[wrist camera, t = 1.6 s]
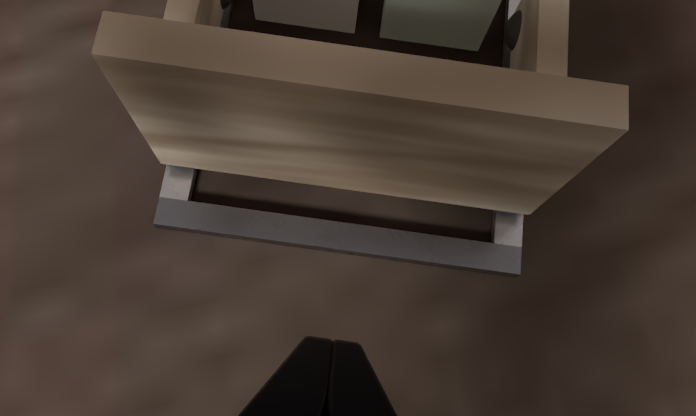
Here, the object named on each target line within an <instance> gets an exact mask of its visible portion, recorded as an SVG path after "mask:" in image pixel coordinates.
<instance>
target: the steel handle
mask: <svg viewBox="0 0 696 416" xmlns="http://www.w3.org/2000/svg"><path fill="white" fill-rule="evenodd" d="M233 1H234V0H233ZM233 1H232V3H231V4H230V5H229V6H228V7H227V8H225V9H224V11H223V16H222V20H221V25H220V27H222V28H228V24H229V20H230V15H231V10H232V6H233ZM520 1H521V0H506V8H505V23H504V29H505V26H506V23H507V21H508V20H509V18H510V17H511V16H512V15H513V14H514V12H515V10H516V9H517V7H518V5H519V3H520ZM510 55H511V50H510V49H509V48H508V46H507V45H506V42H505V39H503V55H502V68H509V69H510ZM197 170H198V169H196V168H189V167H182V166H175V165H168V164H167V166H166V170H165V175H164V179H163V183H162V188H161V192H160V196H159V201H158V205H157V210H156V214H155V218H154V223H153V224H154V225H155V226H156V227H157V228H164V229H171V230H178V231H185V232H193V233H200V234H207V235H214V236H222V237H229V238H236V239H243V240H251V241H258V242H265V243H272V244H280V245H287V246H294V247H301V248H309V249H316V250H323V251H330V252H338V253H345V254H352V255H359V256H367V257H374V258H381V259H388V260H396V261H403V262H410V263H417V264H425V265H432V266H439V267H446V268H454V269H461V270H468V271H475V272H483V273H490V274H497V275H504V276H512V277H517V276H519V275H520V274H521V254H522V233H523V214H519V213H512V212H505V211H498V210H493V213H492V229H491V243H489V242H482V241H474V240H467V239H460V238H453V237H446V236H438V235H431V234H424V233H417V232H410V231H402V230H395V229H388V228H381V227H373V226H366V225H359V224H352V223H345V222H337V221H330V220H323V219H316V218H309V217H301V216H294V215H287V214H280V213H273V212H265V211H258V210H251V209H244V208H236V207H229V206H222V205H215V204H208V203H200V202H193V201H191V198H192V194H193V189H194V184H195V180H196V175H197Z"/></svg>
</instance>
